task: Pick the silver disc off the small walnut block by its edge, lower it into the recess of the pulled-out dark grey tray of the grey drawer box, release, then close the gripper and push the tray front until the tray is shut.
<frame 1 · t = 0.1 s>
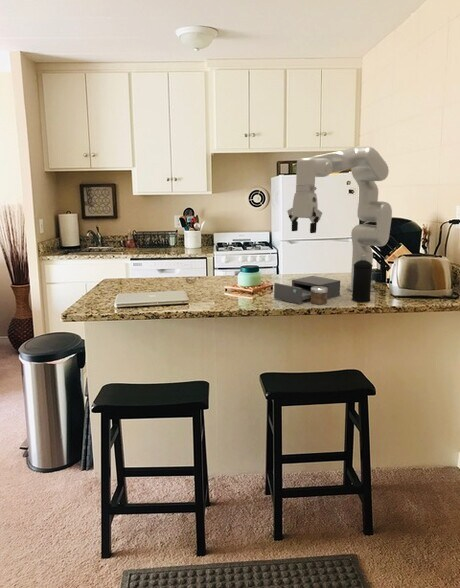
hand: (303, 232, 212), 31 cm above the worktop, fingers open, 9 cm apart
grey drawer box: (315, 295, 238), on the worktop
aerosol can: (360, 300, 229), on the worktop
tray: (298, 291, 229), point 4 cm above the worktop, slide at 11.0 cm
walnut block: (318, 302, 223), on the worktop
disc: (319, 291, 222), point 5 cm above the worktop, touching walnut block
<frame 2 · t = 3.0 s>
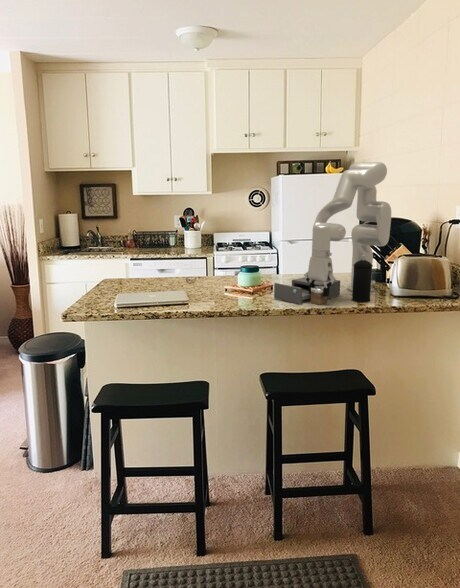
hand: (318, 294, 222), 4 cm above the worktop, fingers closed on disc, 7 cm apart
disc: (319, 291, 222), point 5 cm above the worktop, touching gripper, walnut block
everything else where it was.
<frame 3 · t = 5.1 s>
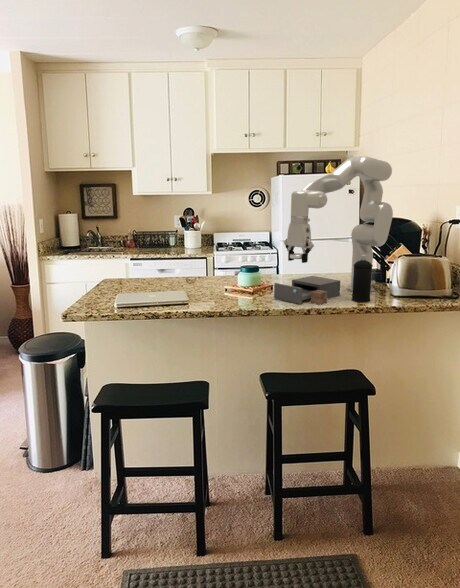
hand: (297, 261, 225), 17 cm above the worktop, fingers closed on disc, 7 cm apart
disc: (297, 258, 225), point 19 cm above the worktop, touching gripper
everything else where it was.
when the fingers open (3 cm above the worktop, at t = 7.2 s): disc drops 2 cm, resting on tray.
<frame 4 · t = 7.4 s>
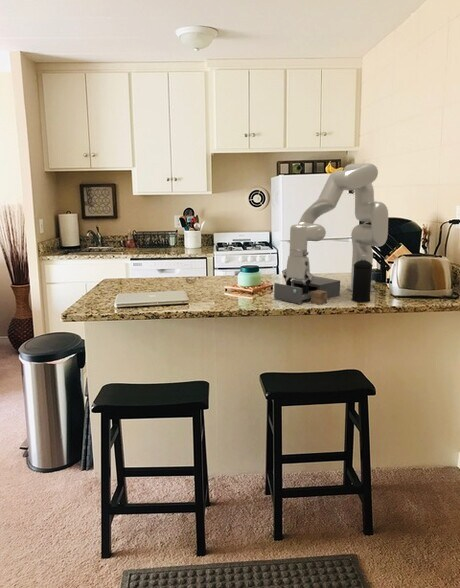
hand: (296, 291, 229), 4 cm above the worktop, fingers open, 9 cm apart
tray: (298, 291, 229), point 4 cm above the worktop, slide at 11.0 cm, touching disc
disc: (296, 294, 229), point 2 cm above the worktop, touching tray
everything else where it was.
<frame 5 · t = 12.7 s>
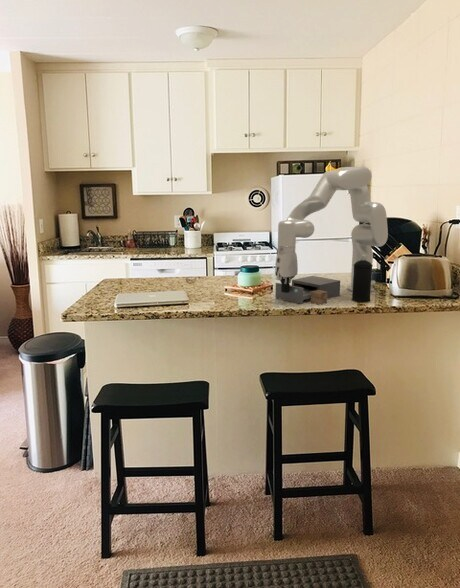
hand: (285, 292, 223), 4 cm above the worktop, fingers closed
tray: (299, 290, 230), point 4 cm above the worktop, slide at 10.1 cm, touching disc, gripper
everything else where it was.
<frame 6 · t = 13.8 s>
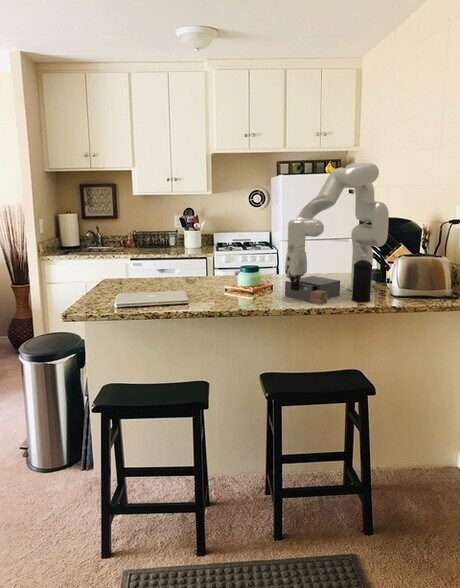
hand: (294, 290, 227), 4 cm above the worktop, fingers closed
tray: (308, 288, 234), point 4 cm above the worktop, slide at 3.7 cm, touching disc, gripper
disc: (307, 292, 234), point 2 cm above the worktop, touching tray
everything else where it was.
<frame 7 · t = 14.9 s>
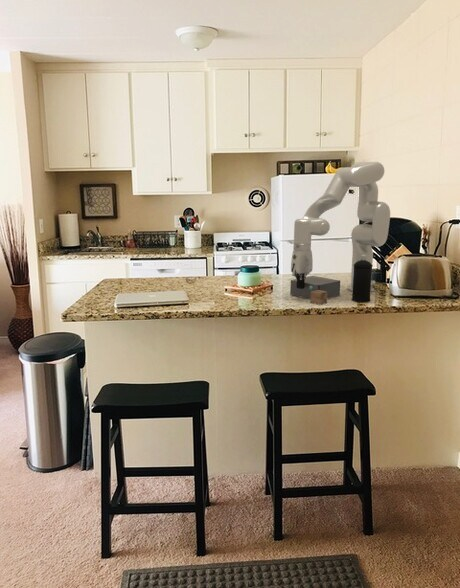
hand: (300, 288, 230), 5 cm above the worktop, fingers closed
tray: (313, 287, 236), point 4 cm above the worktop, slide at 0.0 cm, touching disc, gripper
disc: (312, 290, 236), point 2 cm above the worktop, touching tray
everything else where it was.
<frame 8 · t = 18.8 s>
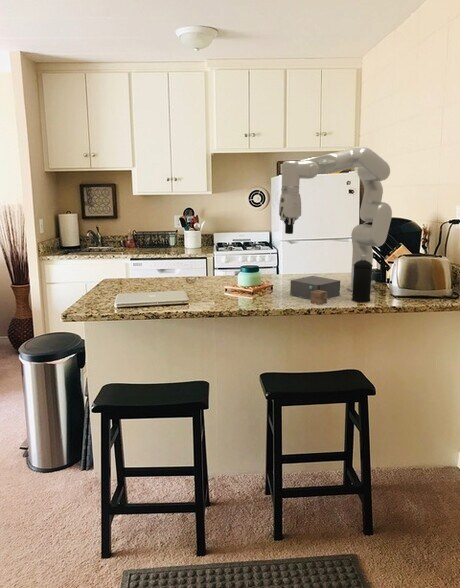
hand: (289, 233, 225), 29 cm above the worktop, fingers closed
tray: (313, 287, 236), point 4 cm above the worktop, slide at 0.0 cm, touching disc
everything else where it was.
at the end: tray slide at 0.0 cm; disc inside the target area on the grey drawer box (2.0 cm from its centre), point 2.3 cm above the grey drawer box's base; the gripper is holding nothing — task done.
